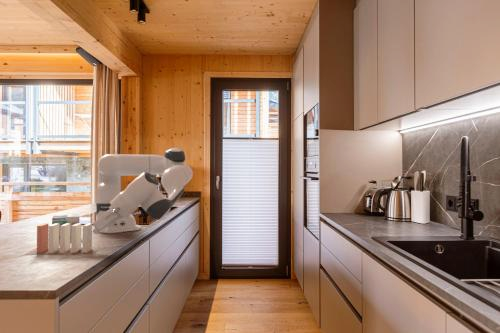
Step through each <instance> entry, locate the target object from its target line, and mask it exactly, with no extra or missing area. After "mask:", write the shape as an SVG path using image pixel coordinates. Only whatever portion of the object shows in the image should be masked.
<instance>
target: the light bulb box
mask: <svg viewBox="0 0 500 333" xmlns="http://www.w3.org/2000/svg"><path fill="white" fill-rule="evenodd" d="M55 223H60V225H59V241H60V226H61V225H63V224H66V223H71V224H70V240H71V231H72V225H75V224H77V223H80V214H79V213H78V214H61V215H60V214H59V215H58V214H57V215H52V218H51V225H52V224H55Z"/></svg>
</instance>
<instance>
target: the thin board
mask: <svg viewBox="0 0 500 333" xmlns="http://www.w3.org/2000/svg"><path fill="white" fill-rule="evenodd" d="M101 248H102V247H101V246H99V247H95V246H94V247H93V246H92V249H91V250H90V251H88V252H83V247H81V249H80V250H79V251H77V252H76V253H71V247H70V250H68V251H66V252H65V253H60V247H59V250H57V251H55V252H54V253H48V250H46V251H44V252H42V253H37V247H36V248H34V249H32V250H30V251H28V252H25V253H24V254H22V256H53V255H55V256H58V255H59V256H61V255H63V256H65V255H67V256H68V255H69V256H71V255H74V256H75V255H93V254H94V253H96V252H97V251H98V250H100V249H101Z"/></svg>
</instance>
